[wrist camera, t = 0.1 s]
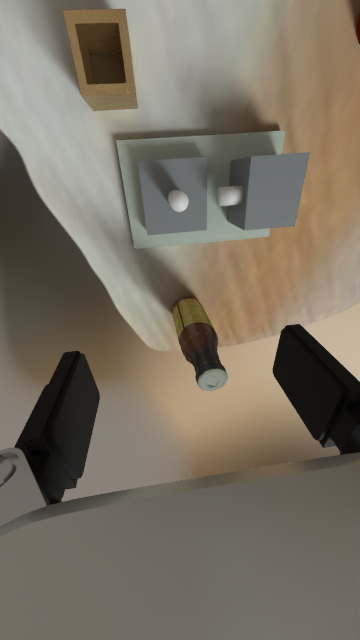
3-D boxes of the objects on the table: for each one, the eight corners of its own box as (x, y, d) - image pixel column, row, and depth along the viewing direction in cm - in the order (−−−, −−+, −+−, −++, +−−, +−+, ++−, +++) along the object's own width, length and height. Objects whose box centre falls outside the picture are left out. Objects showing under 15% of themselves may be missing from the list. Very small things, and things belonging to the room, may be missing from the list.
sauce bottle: (185, 326, 48) (206, 406, 31) (165, 309, 45) (175, 386, 28) (209, 307, 46) (244, 380, 29) (189, 287, 43) (215, 356, 26)
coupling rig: (117, 141, 30) (106, 129, 22) (280, 132, 32) (322, 117, 24) (134, 247, 38) (131, 264, 30) (266, 235, 39) (294, 248, 32)
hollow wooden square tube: (80, 43, 25) (62, 9, 20) (130, 42, 25) (125, 8, 20) (93, 110, 28) (81, 95, 23) (137, 108, 29) (135, 93, 24)
